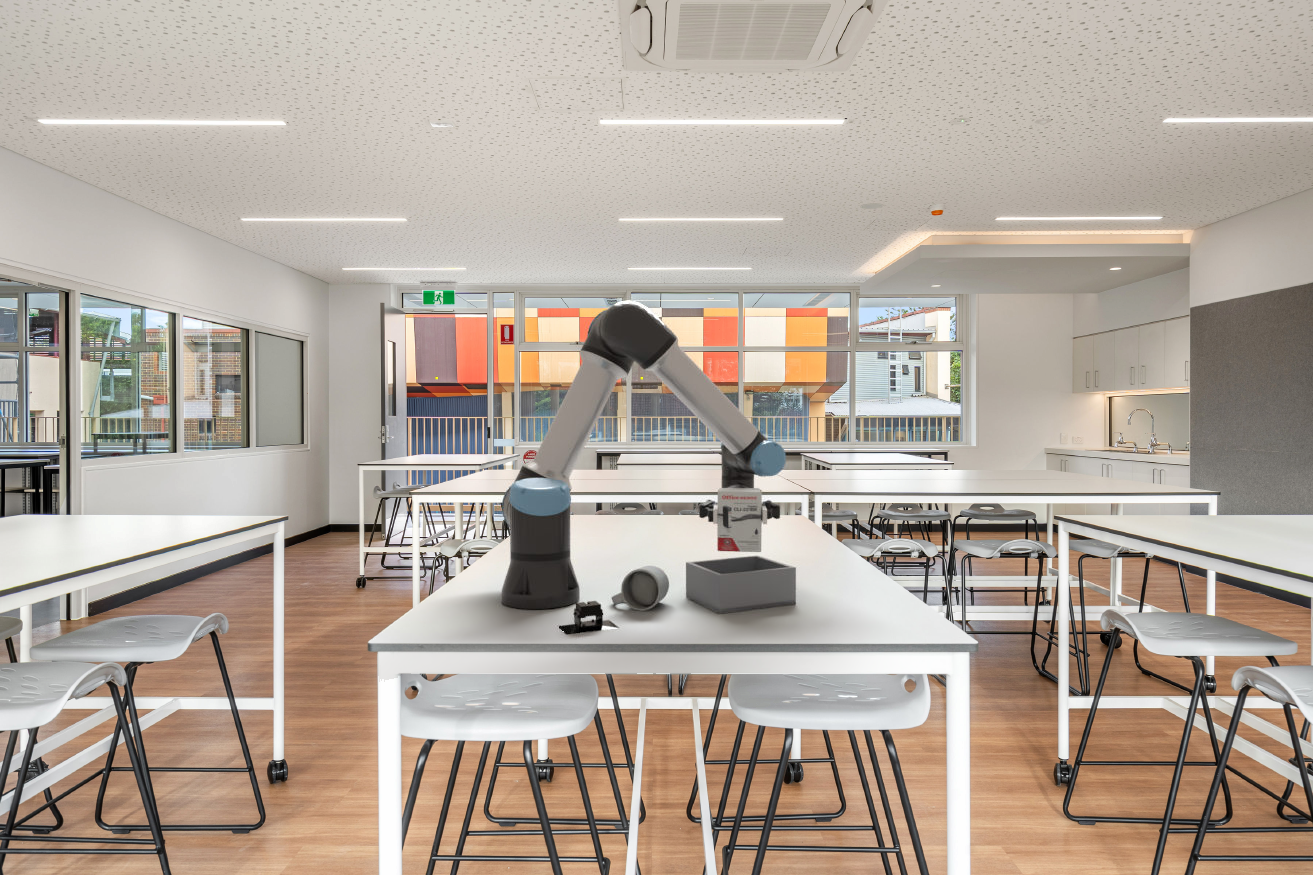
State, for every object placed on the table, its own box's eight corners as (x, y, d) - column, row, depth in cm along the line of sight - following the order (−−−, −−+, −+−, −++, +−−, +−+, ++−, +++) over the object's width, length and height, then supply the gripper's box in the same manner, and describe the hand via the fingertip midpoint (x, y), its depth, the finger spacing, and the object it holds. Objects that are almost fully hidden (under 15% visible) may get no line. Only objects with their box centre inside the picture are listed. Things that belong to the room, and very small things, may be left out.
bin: (686, 597, 144) (685, 562, 144) (757, 589, 151) (757, 555, 150) (719, 613, 131) (719, 575, 131) (795, 603, 138) (795, 567, 138)
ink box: (717, 551, 139) (717, 489, 139) (718, 547, 144) (718, 487, 143) (762, 552, 138) (762, 490, 137) (761, 547, 143) (761, 488, 142)
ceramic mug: (671, 602, 140) (671, 562, 140) (659, 612, 133) (659, 570, 132) (619, 598, 143) (619, 559, 143) (605, 608, 135) (605, 567, 135)
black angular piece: (615, 620, 129) (615, 595, 129) (630, 631, 122) (630, 604, 122) (547, 629, 124) (547, 602, 124) (559, 640, 117) (558, 612, 117)
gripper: (787, 520, 158) (797, 537, 135) (689, 519, 160) (683, 536, 137) (787, 486, 157) (797, 497, 135) (689, 485, 159) (683, 496, 137)
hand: (740, 516), depth 136 cm, fingers closed on ink box, 9 cm apart
